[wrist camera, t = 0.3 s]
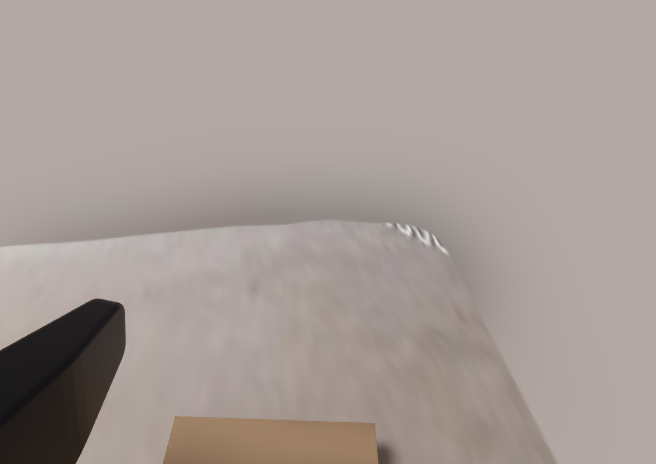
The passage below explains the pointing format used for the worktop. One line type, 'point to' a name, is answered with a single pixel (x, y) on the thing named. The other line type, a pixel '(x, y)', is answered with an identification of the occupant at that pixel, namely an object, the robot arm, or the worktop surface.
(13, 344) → the robot arm
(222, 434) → the stand
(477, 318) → the worktop surface
